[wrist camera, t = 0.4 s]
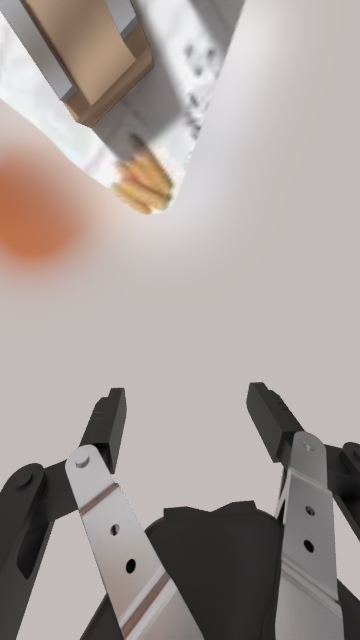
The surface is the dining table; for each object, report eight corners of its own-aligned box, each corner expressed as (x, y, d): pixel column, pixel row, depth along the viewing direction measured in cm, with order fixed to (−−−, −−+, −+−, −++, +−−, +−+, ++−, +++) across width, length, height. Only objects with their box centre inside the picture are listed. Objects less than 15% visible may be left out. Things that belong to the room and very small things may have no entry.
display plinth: (17, 13, 21) (-35, -37, 16) (87, -87, 18) (52, -190, 13) (90, 128, 26) (70, 119, 21) (153, 66, 23) (148, 38, 18)
